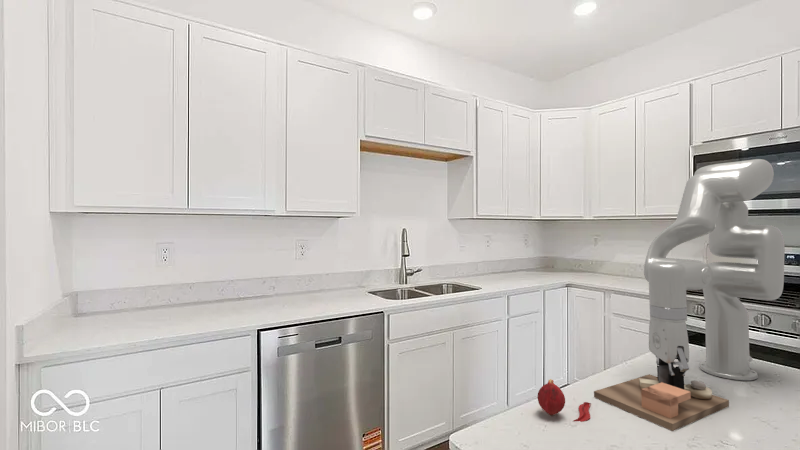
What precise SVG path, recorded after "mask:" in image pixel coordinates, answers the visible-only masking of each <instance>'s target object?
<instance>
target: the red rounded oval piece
mask: <svg viewBox="0 0 800 450" xmlns="http://www.w3.org/2000/svg"><path fill="white" fill-rule="evenodd" d="M537 402H538V405H539V407H540V409H542V410H543V411H544V412H545V413H546V414H548V415H549V416H551V417H553V416H555V415H557V414H559V413H560V412H562V410H563V409H564V407H565V406H566V405H565V404H566V397H565V394H564V392H563V390H562V389H561V388H560V387H559V386H558V385H556V384H555V383H554V379H552V378H550V379H548V382H547V383H545V384H543V385H542V386H541V387H540V388H539V390H538V392H537Z"/></svg>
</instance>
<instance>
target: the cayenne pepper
mask: <svg viewBox="0 0 800 450" xmlns="http://www.w3.org/2000/svg"><path fill="white" fill-rule="evenodd" d="M591 405H592V403H591V402H588V401H583V403H582V404H579V406H578V411H579V412H578V413H579V415H578V417H577V418H576V419H574V420H573V422H581V423H582V422H587V421H589V420H590V419H591V414H590V411H589V409H590V408H591Z"/></svg>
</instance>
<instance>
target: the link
mask: <svg viewBox="0 0 800 450" xmlns="http://www.w3.org/2000/svg"><path fill="white" fill-rule="evenodd" d="M657 366H658V376H657V377H659V381H657V380H649V379H642V378H639V377H638V378H639V385H640V388H641V389H643V388H646V387H649V386H652V385H655V384H658V383H661V382H662V383H665V384H668V374H670V371H669V366H668V365H657ZM675 367H676V366H674V368H675ZM684 390H687V391H690V392H691V396H692V397H695V398H700V399H711V398H712V395H713V390H712V389H711V388H709V387H708V386H706V389H696V388H693V387H692V386H691V383H686V384H685V383H684Z"/></svg>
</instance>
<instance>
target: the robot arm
mask: <svg viewBox="0 0 800 450" xmlns="http://www.w3.org/2000/svg"><path fill="white" fill-rule="evenodd" d="M774 172H775V171H774V168H773V166H772V164H771V163H770V162H769V161H768V160H766V159H763V158H762V159H761V158H755V159H748V160H739V161H738V160H737V161H732V162H731V161H730V162H723V163H714V164H709V165H705V166H702V167H699V168H698V169H696V171H694V174H693V175H692V176H690V177H689V178H688V179H687V180H686V182H685V186H684V190H683V193H682V197H681V200H680V201H681V202H680V205H679V209H678V212H677V214H676V215H677V217H676V220H675V221H674V222H673V223H672V224H670V225H669V226H668V227H666V228H665V229H663V230H662V231H661V232H660V233H659V234H658V235H657V236H656V237H655V238H654V239H653V241H652V242H651V243H650V245H649V247H648V251H647V253H646V255H645V256H646V257H645V261H644V263H643V264H644V265H643V275H644V279H645V280H646V281H647V283H648V290H649V291H648V294H649V295H648V297H649V298H648V299H649V325H648V350H649V352H651V354H653V355H654V356H655V359H656V361H655V363H656V366H657V367H656V369H657V370H656V371H657V376H656V377H658V366H659V365H668V366H669V371H670V374H668V384H669V385H672V386H675V387H678V388H681V389H684V384H685V376H686V372H687V371H688V370H690V366H689V362H690V344H689V335H688V328H687V324H686V323H687V321H688V306H687V305H688V304H687V291H700V290H702V293H703V299H704V316H705V317H704V320H705V321H704V322H705V324H704V325H705V326H704V327H705V329H704V330H705V360H706V361H705V360H703V361H701V362H700V363H699V368H700V370H702V371H703V372H704V373H707V374H709V375H712V376H715V377H720V378H724V379H728V380H734V381H735V380H736V381H754V380H756V379H758V372H756V370H754V369H752V368H750V363H751V362H752V361H753V357H752V356H751V355H750V331H749V330H750V328H749V327H750V325H749V324H750V323H749V320H750V319H749V312H748V309H747V308H746V306H745V305H744V304H743V302H742V301H741V300H740V298H744V299H753V300H761V301H775V300H777V299H779V298H780V297H781V295H782V293H783V291H784V285H785V284H784V282H785V255H786V254H785V250H786V249H785V247H786V246H785V238H784V235H783V233H782V231H781V230H780V228H779V227H777V226H774V225H771V224H749V207H748V206H747V204H746V202H748V201H750V200H752V199H754V198H756V197H757V196H759V195H760V194H762V193H763V192H765V191H766V190H767V189H769V187H770V186H771V185H772V183H773V181H774V176H775V175H774V174H775V173H774ZM706 235H708V248H709V252H710V253H711V254H712V255H714V256H716V257H718V258H719V257H720V258H727V259H728V258H730V259H748V260H749V259H750V260H756V261H757V263H744V262H743V263H741V262H732V261H731V262H728V261H716V262H715V261H713V262H709V263H706V262H704V261H702V260H697V259H690V258H689V259H685V258H671V257H667V256H668V254H669V253H670V252H671V251H672V250H673V249H674V248H676V247H677V246H679V245H682V244H684V243H686V242H690V241H692V240H695V239H698V238H700V237H704V236H706ZM675 360H677V361H675ZM676 365H678V366H676ZM674 367H675V368H674ZM658 381H659V377H658Z"/></svg>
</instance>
